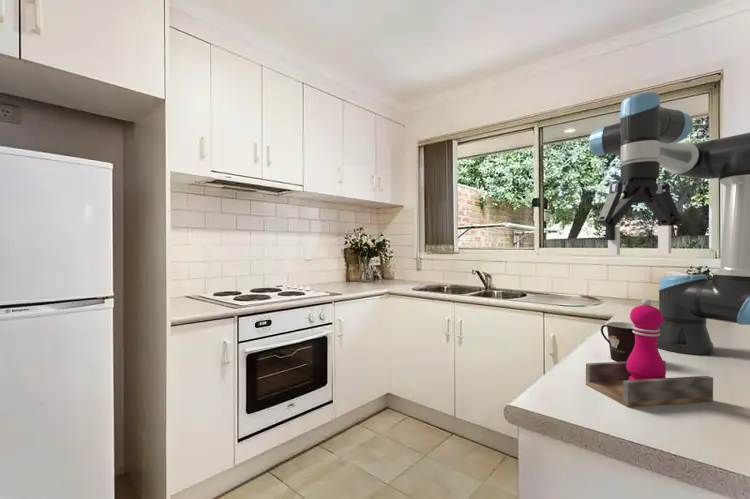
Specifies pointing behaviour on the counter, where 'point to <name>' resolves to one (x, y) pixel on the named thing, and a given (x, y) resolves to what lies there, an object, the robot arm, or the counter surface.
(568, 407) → the counter surface
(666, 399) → the rail track
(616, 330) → the coffee mug
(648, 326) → the pepper mill
